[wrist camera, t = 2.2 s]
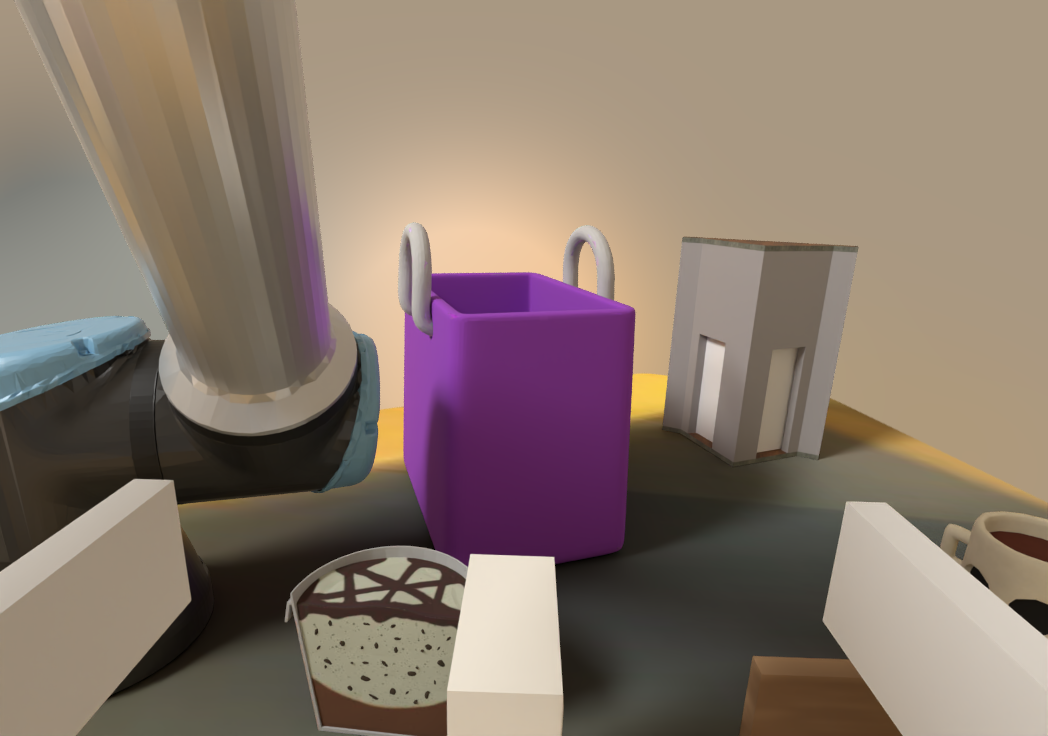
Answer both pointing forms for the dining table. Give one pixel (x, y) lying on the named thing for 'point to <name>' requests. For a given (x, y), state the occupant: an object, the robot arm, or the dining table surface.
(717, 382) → the grey tall angular block
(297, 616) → the food container
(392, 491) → the dining table surface
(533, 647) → the white rectangular box
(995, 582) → the character mug
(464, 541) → the shopping bag
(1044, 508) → the dining table surface
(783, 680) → the wooden holder
